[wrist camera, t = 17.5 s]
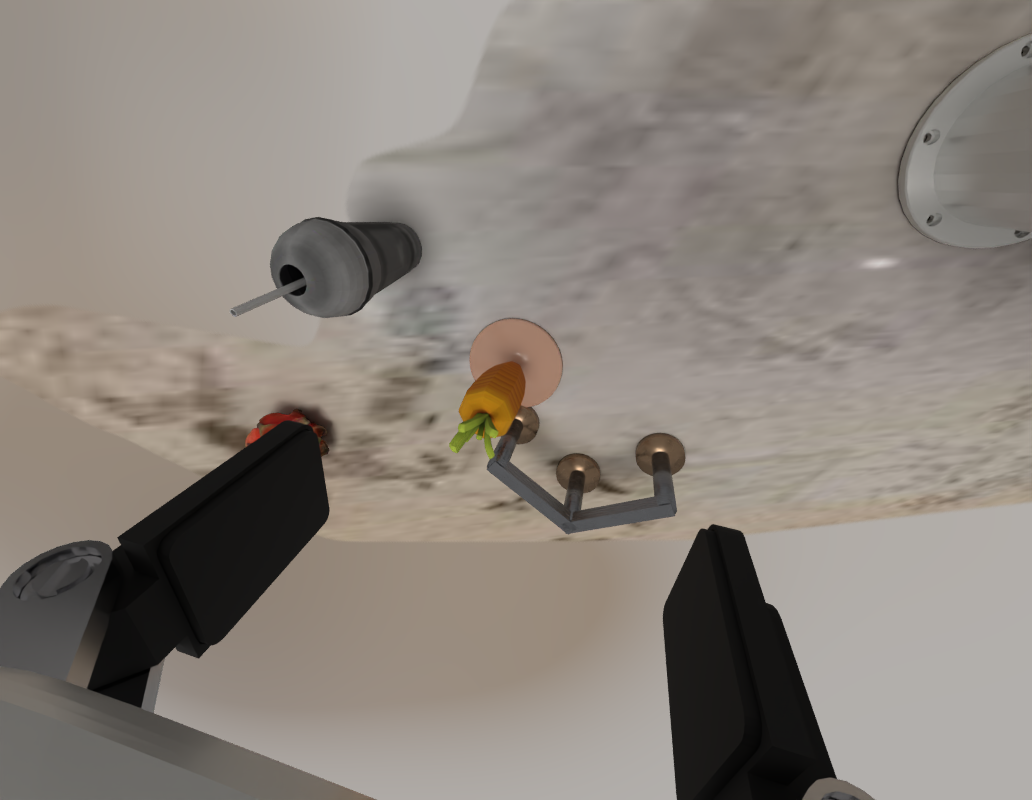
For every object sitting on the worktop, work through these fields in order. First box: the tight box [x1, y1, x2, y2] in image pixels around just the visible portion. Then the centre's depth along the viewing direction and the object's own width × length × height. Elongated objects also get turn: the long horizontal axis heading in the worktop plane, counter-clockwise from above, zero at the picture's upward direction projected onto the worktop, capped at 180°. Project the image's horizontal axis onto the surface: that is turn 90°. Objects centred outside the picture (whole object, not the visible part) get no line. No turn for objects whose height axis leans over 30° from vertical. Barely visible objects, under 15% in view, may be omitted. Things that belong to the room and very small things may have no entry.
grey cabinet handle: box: [487, 405, 685, 535], centre depth 43 cm, size 21×10×9 cm, turn 84°
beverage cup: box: [230, 217, 422, 318], centre depth 32 cm, size 7×7×20 cm
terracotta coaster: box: [470, 318, 563, 407], centre depth 44 cm, size 10×10×1 cm
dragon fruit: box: [245, 409, 329, 457], centre depth 53 cm, size 8×8×12 cm
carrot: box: [449, 361, 526, 459], centre depth 37 cm, size 5×5×15 cm
